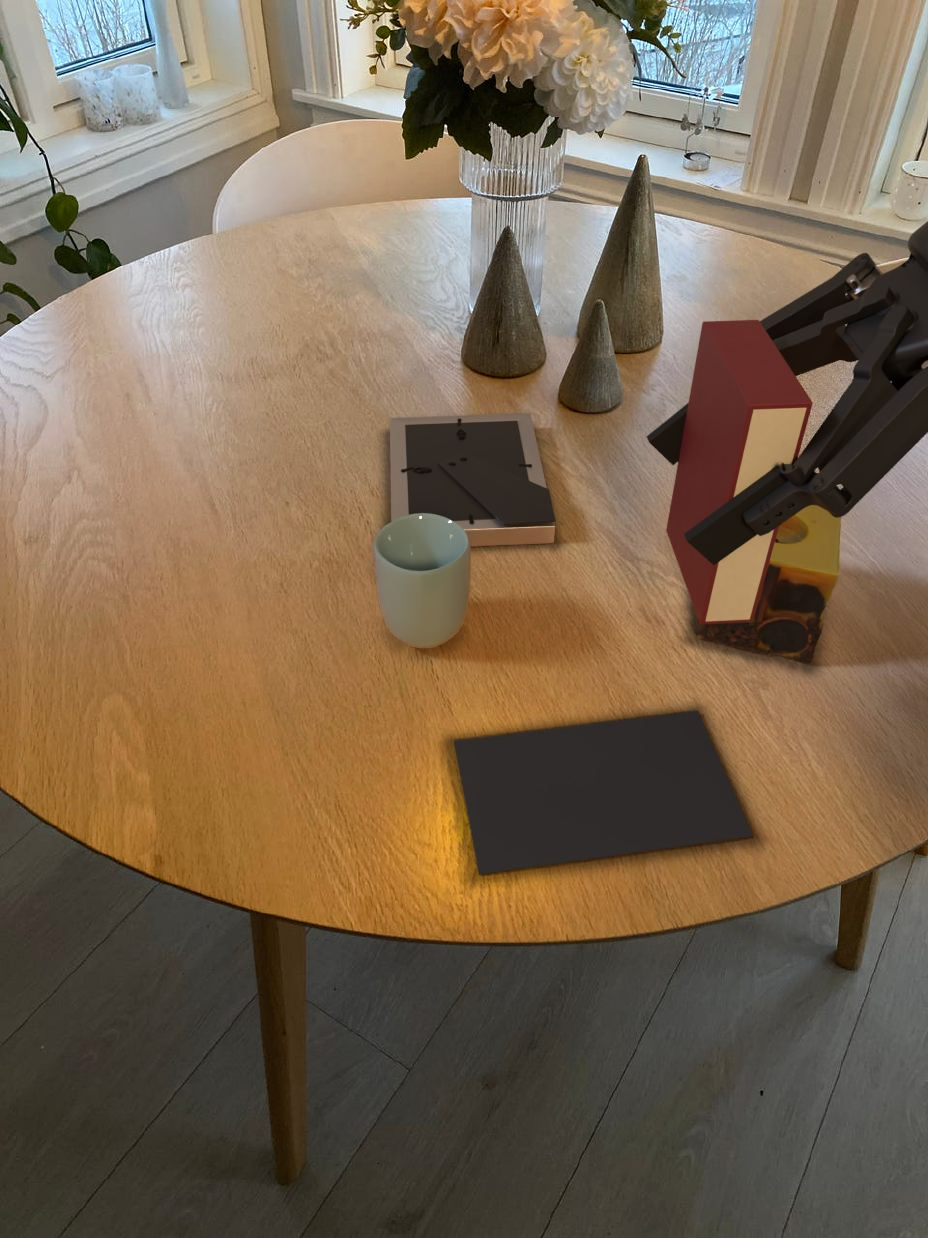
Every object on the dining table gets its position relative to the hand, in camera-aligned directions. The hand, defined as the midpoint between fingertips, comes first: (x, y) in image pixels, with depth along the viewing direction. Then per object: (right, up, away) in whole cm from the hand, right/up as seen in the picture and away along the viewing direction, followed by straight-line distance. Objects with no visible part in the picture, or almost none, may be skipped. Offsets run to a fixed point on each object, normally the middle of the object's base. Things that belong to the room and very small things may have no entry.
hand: (678, 497), depth 61 cm
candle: (+13, -8, +25) cm, 29 cm away
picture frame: (-13, +6, +40) cm, 43 cm away
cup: (-17, -9, +24) cm, 31 cm away
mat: (-4, -21, +11) cm, 24 cm away
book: (+3, -5, +5) cm, 7 cm away
